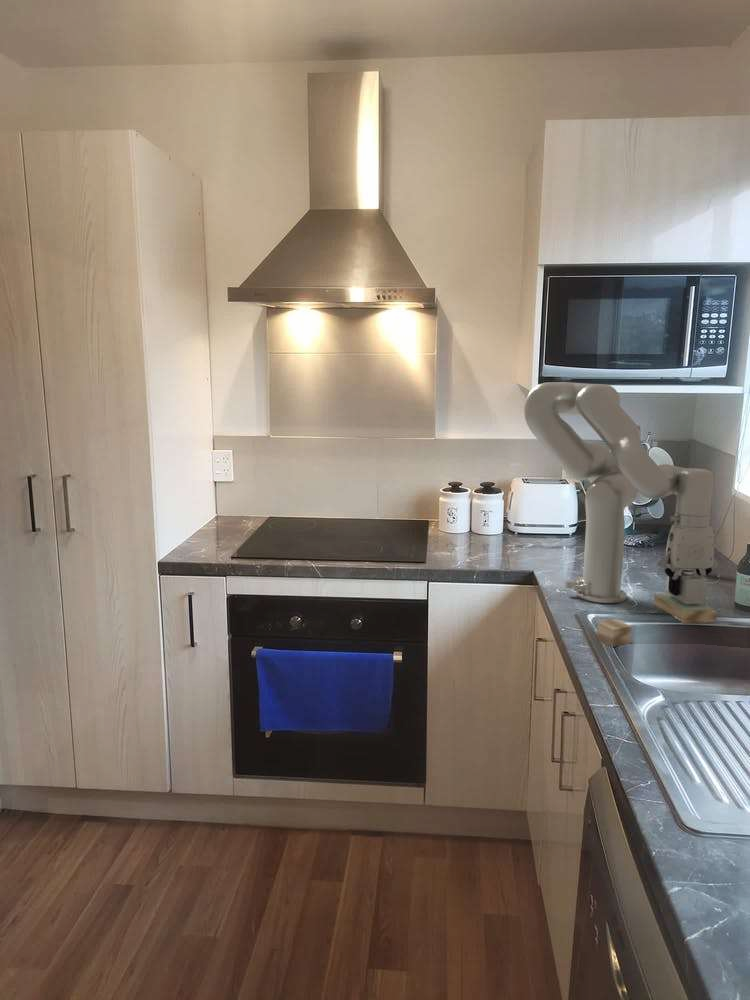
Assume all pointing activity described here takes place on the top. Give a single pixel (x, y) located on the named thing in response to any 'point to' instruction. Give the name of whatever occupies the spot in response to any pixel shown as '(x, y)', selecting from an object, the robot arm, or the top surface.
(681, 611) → the wooden block
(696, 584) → the housing
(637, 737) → the top surface
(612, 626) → the ash block
